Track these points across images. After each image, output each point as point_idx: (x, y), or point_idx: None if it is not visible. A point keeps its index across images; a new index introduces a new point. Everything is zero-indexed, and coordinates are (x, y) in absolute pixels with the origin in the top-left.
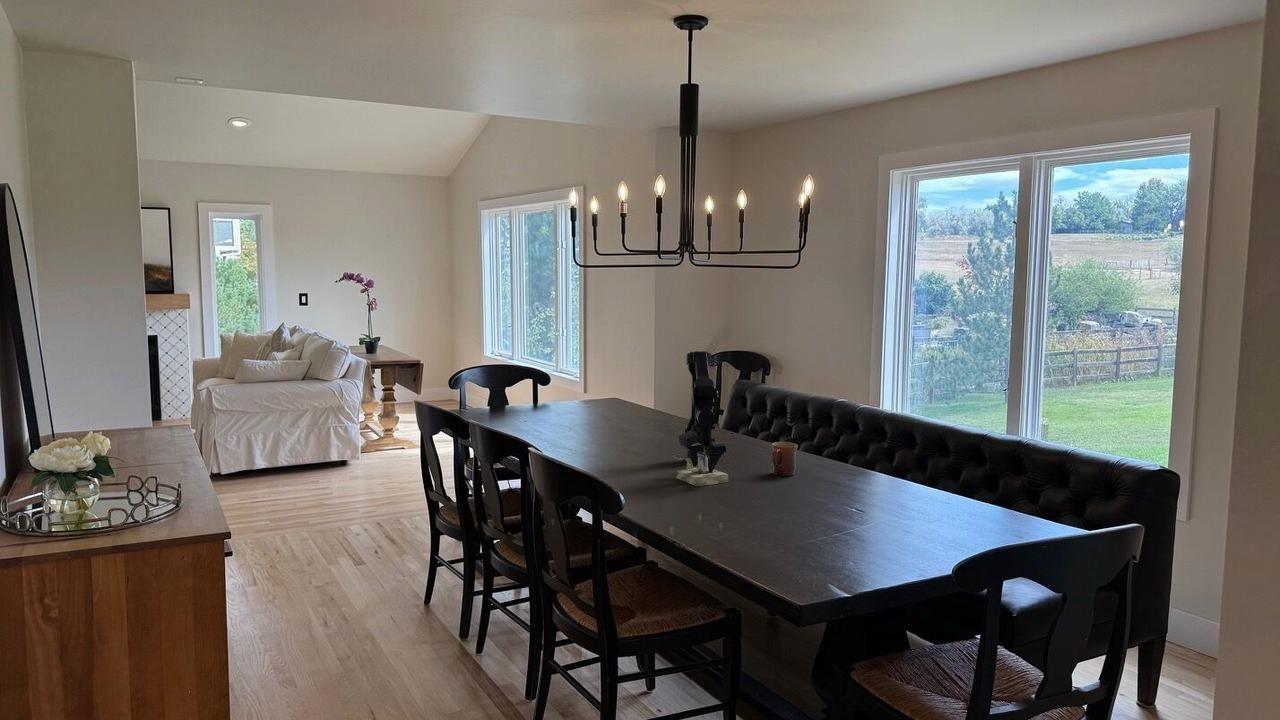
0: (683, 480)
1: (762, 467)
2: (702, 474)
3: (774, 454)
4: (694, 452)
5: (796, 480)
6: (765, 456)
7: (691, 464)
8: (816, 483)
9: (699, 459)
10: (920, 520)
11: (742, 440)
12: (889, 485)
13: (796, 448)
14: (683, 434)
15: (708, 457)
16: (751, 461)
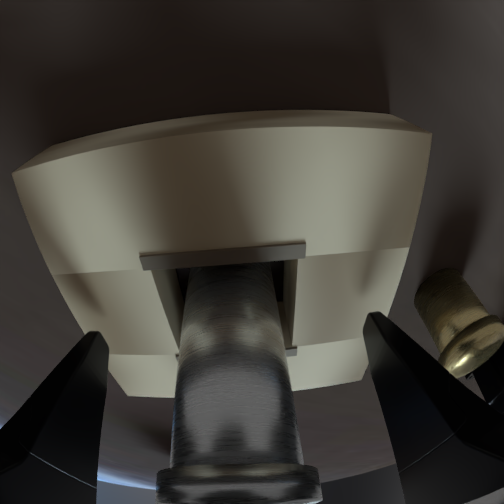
0: (275, 111)
1: (309, 454)
2: (146, 283)
3: None
4: (426, 443)
5: (141, 455)
6: (384, 454)
7: (452, 324)
8: (109, 457)
9: (208, 421)
10: None
11: None
12: (98, 475)
13: None
14: None
15: (5, 451)
16: (376, 443)
